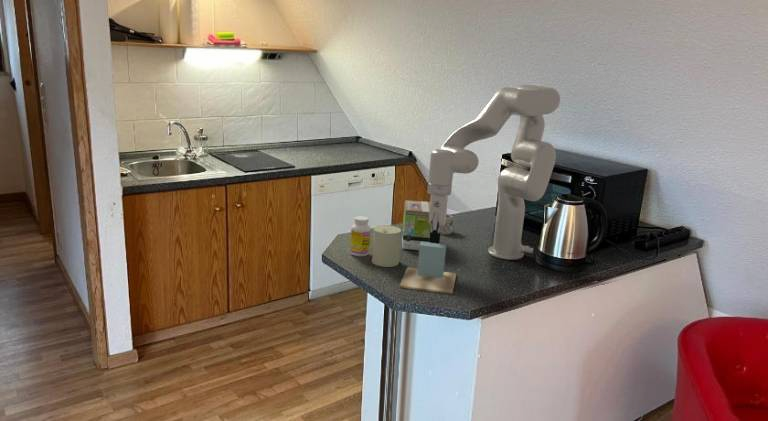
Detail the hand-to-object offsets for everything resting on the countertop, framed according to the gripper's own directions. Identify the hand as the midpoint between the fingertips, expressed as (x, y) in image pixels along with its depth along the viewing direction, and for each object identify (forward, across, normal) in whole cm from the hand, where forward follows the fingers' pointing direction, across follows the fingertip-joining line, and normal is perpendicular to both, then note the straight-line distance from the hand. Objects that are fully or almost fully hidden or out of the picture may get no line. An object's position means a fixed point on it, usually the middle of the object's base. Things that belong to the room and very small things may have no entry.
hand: (434, 243), depth 194 cm
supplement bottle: (+9, +6, +26) cm, 28 cm away
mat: (+9, -11, 0) cm, 14 cm away
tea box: (+9, +24, +9) cm, 27 cm away
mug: (+9, +44, +1) cm, 45 cm away
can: (+9, +1, +16) cm, 18 cm away
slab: (+8, -7, 0) cm, 11 cm away
